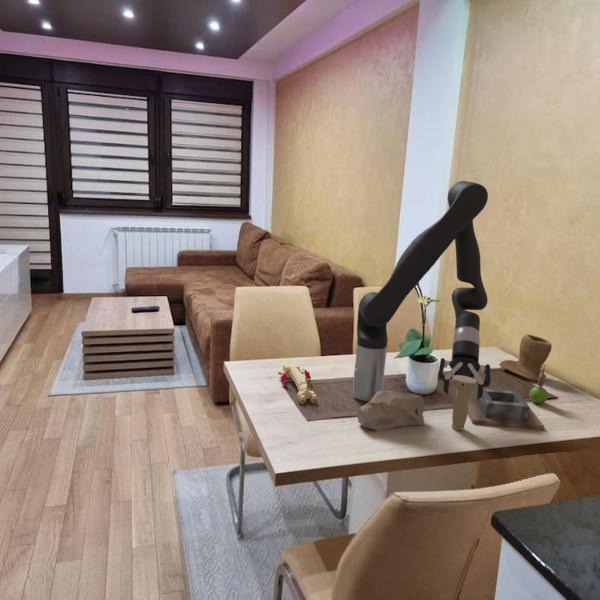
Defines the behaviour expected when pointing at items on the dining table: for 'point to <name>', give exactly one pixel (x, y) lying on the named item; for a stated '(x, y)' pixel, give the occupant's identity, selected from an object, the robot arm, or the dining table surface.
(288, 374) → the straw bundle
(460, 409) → the handle
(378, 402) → the decorative stone
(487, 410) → the socket block
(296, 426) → the dining table surface
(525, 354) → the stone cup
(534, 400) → the green ball on stick
